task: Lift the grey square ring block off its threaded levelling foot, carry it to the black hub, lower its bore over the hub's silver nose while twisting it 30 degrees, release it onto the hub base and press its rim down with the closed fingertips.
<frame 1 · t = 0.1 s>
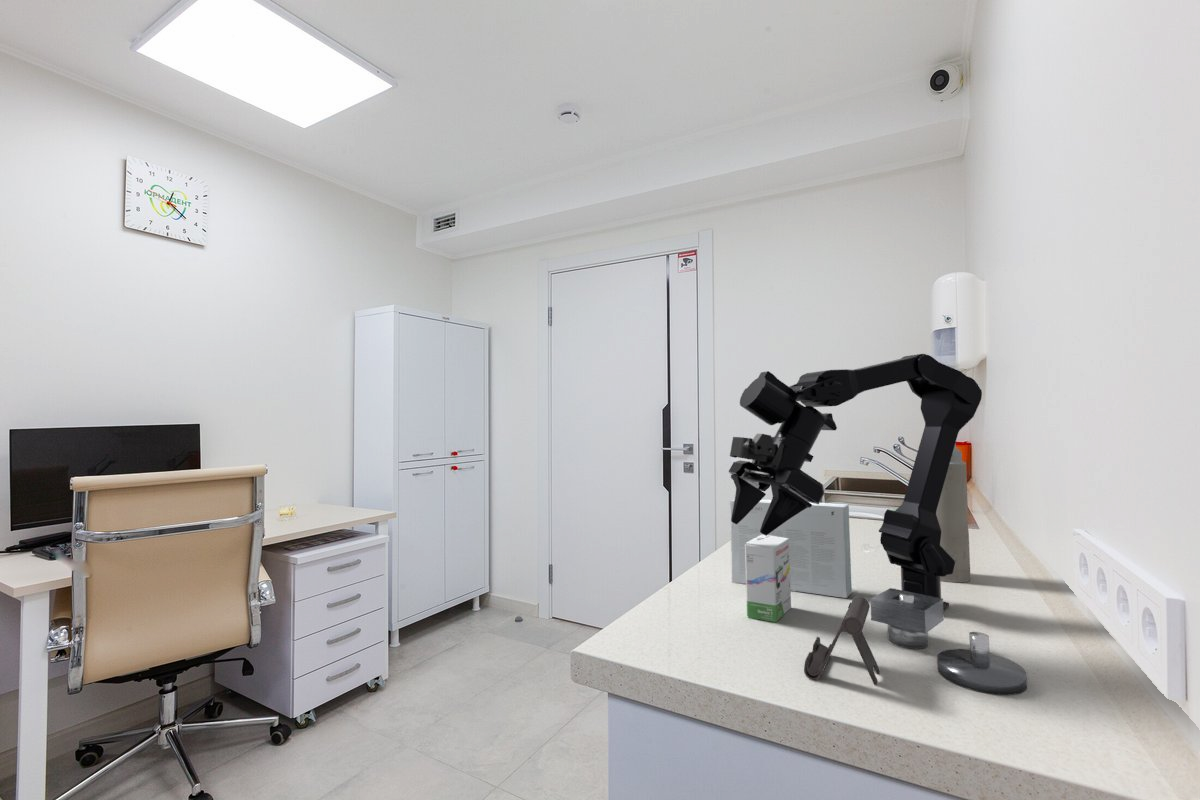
hand: (747, 528, 87), 15 cm above the counter, tool tilted 30°, fingers open, 9 cm apart
grey square ring block: (907, 620, 79), point 3 cm above the counter, touching threaded levelling foot
threaded levelling foot: (908, 641, 79), on the counter
ink box: (769, 613, 92), on the counter
hub: (980, 676, 68), on the counter
thermos bottle: (946, 577, 110), on the counter
portable electronic device stand: (843, 672, 71), on the counter
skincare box: (789, 587, 106), on the counter
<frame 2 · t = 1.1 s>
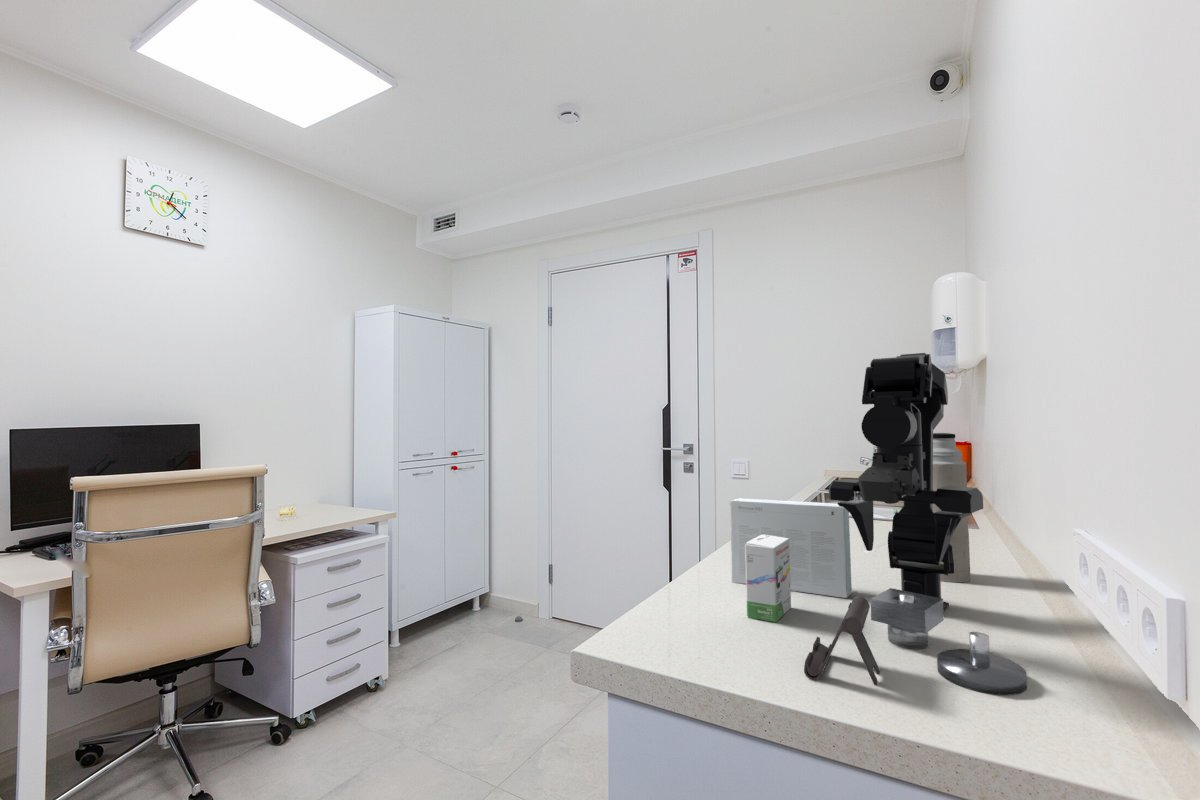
hand: (902, 555, 80), 12 cm above the counter, tool pointing down, fingers open, 9 cm apart
nothing on the counter moved.
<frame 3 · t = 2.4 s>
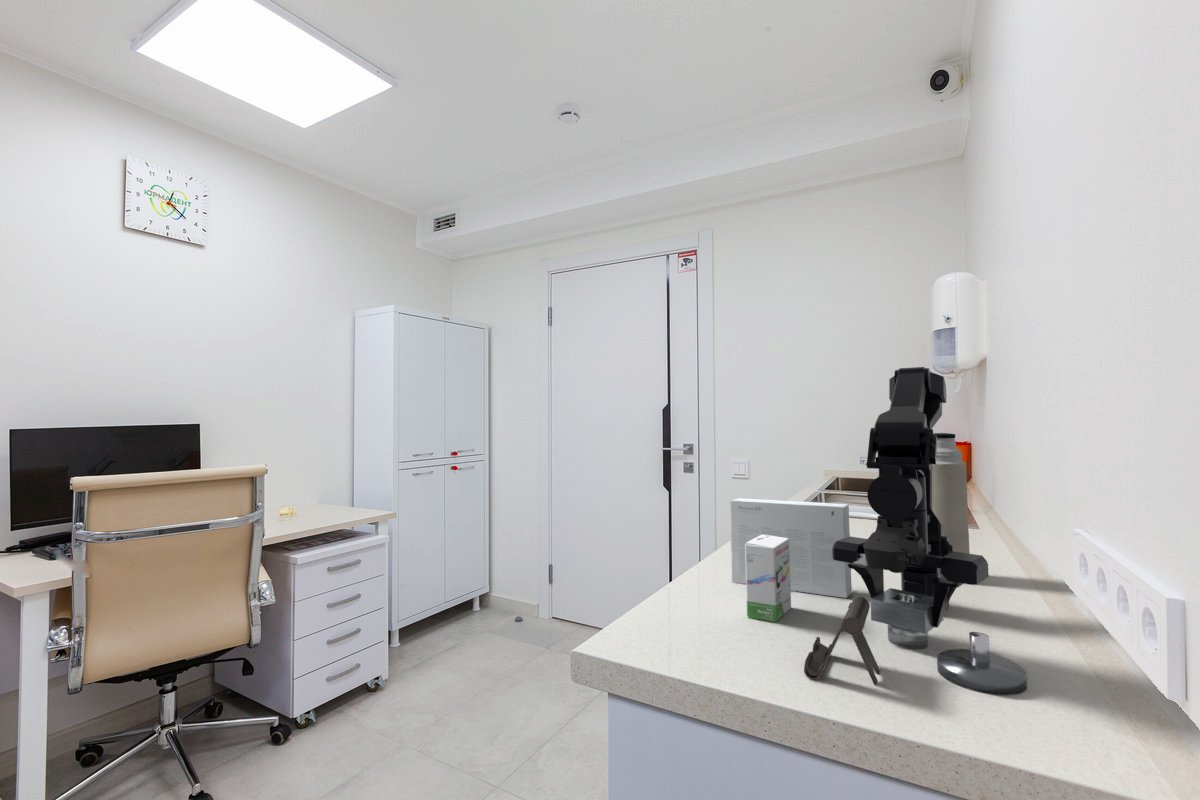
hand: (907, 619, 79), 3 cm above the counter, tool pointing down, fingers closed on grey square ring block, 7 cm apart
grey square ring block: (907, 620, 79), point 3 cm above the counter, touching gripper, threaded levelling foot
everything else where it was.
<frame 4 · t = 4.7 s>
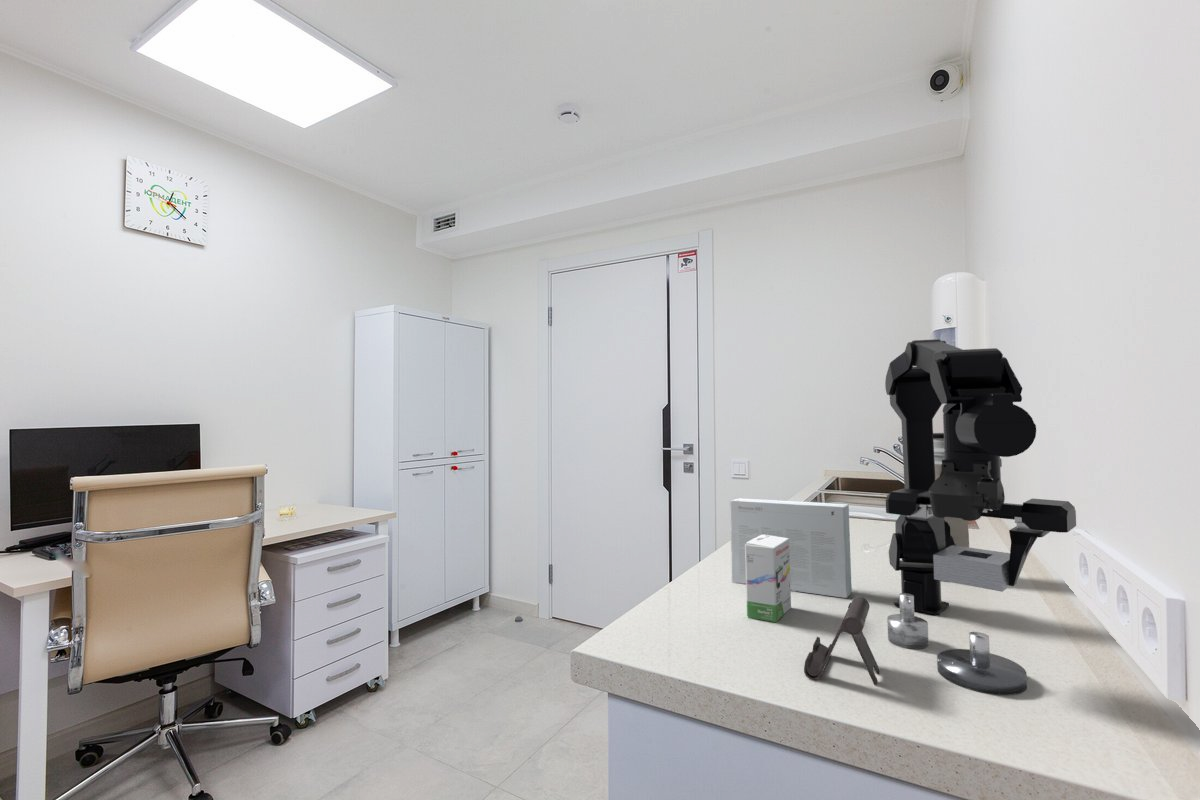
hand: (976, 579, 69), 12 cm above the counter, tool pointing down, fingers closed on grey square ring block, 7 cm apart
grey square ring block: (976, 579, 69), point 12 cm above the counter, touching gripper
everything else where it was.
when the fingers open (2 cm above the counter, at t = 7.3 s): grey square ring block stays where it is, resting on hub.
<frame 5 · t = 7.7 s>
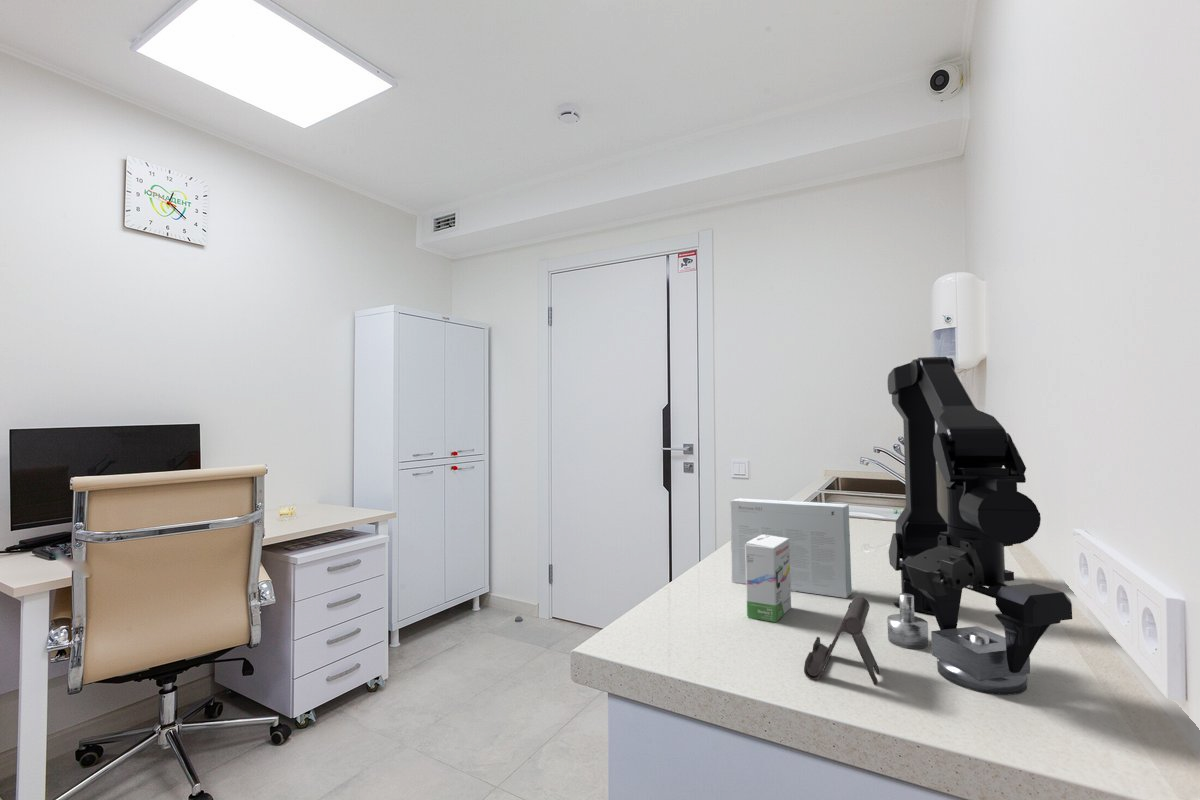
hand: (979, 655, 69), 2 cm above the counter, tool pointing down, fingers open, 9 cm apart
grey square ring block: (979, 663, 69), point 1 cm above the counter, touching hub
everything else where it was.
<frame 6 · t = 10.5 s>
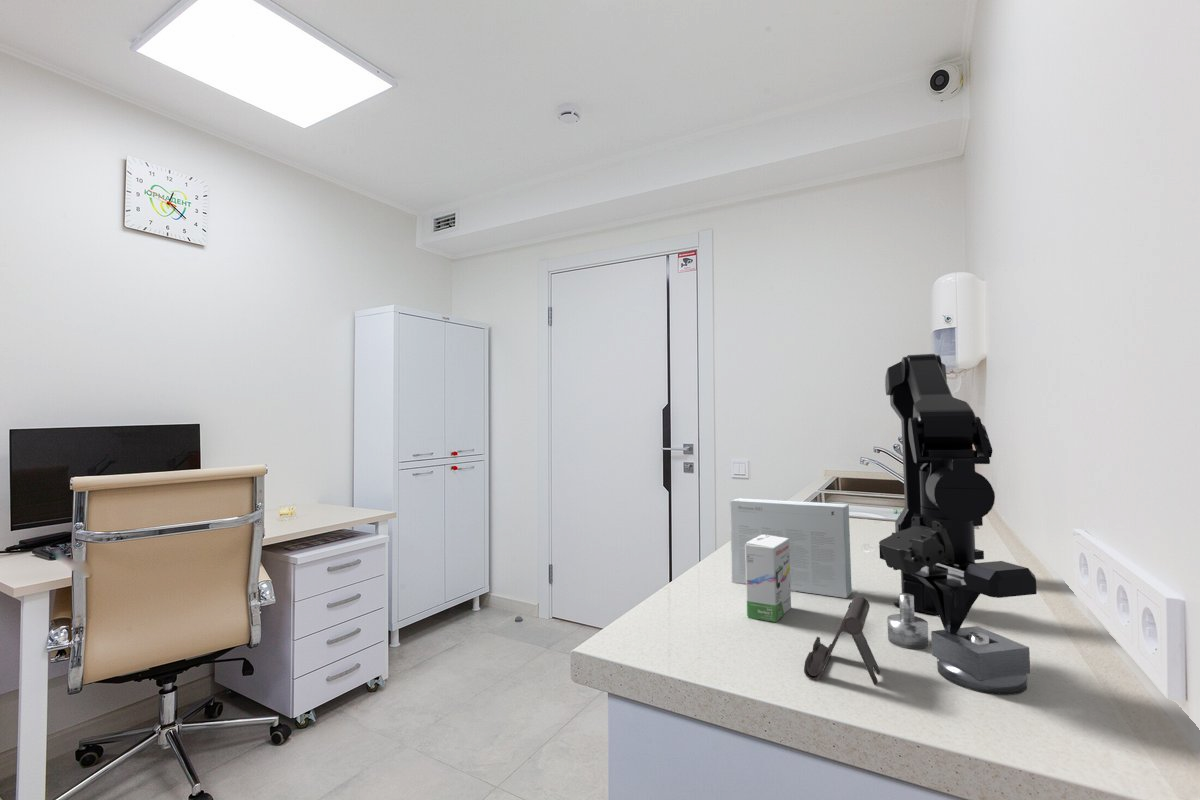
hand: (951, 632, 71), 4 cm above the counter, tool pointing down, fingers closed, pressing on grey square ring block
grey square ring block: (979, 664, 69), point 1 cm above the counter, touching gripper, hub
everything else where it was.
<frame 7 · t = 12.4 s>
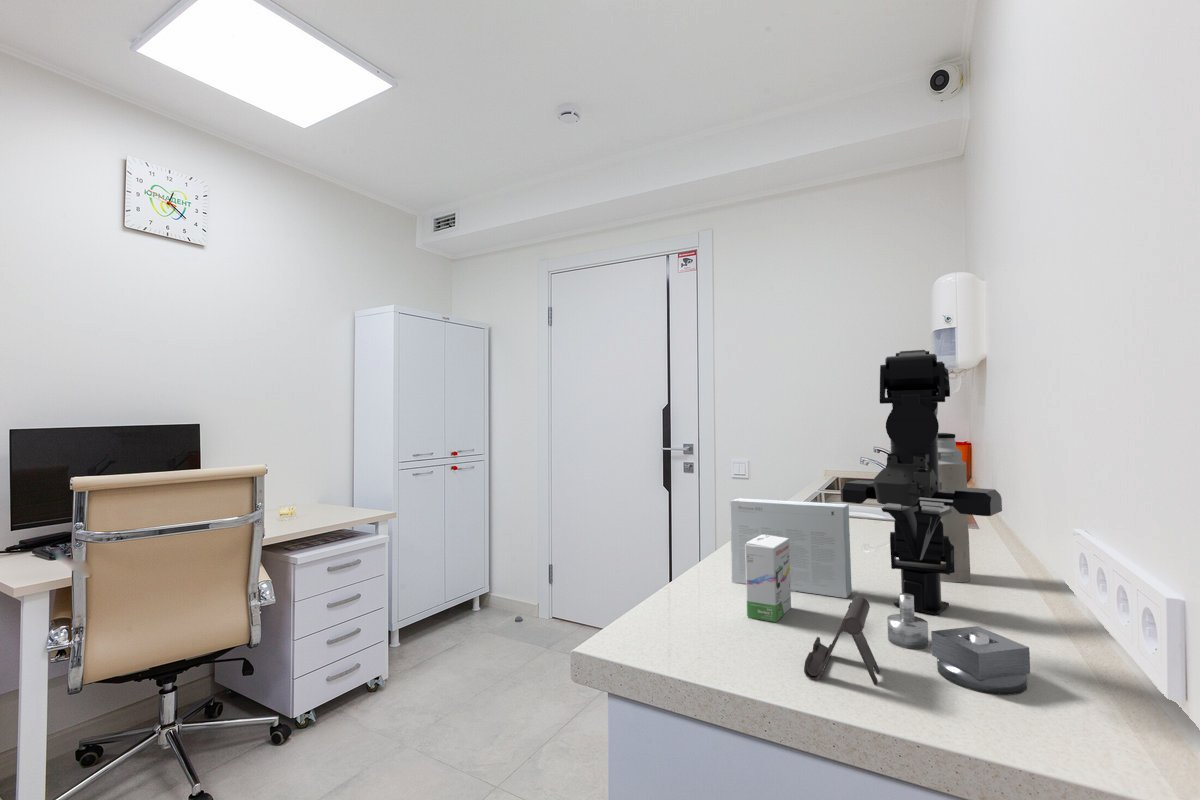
hand: (917, 559, 77), 12 cm above the counter, tool pointing down, fingers closed
grey square ring block: (979, 663, 69), point 1 cm above the counter, touching hub
everything else where it was.
at the end: grey square ring block 0.1 cm off-centre on the hub, point 1.5 cm above the hub's base; the gripper is holding nothing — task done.
